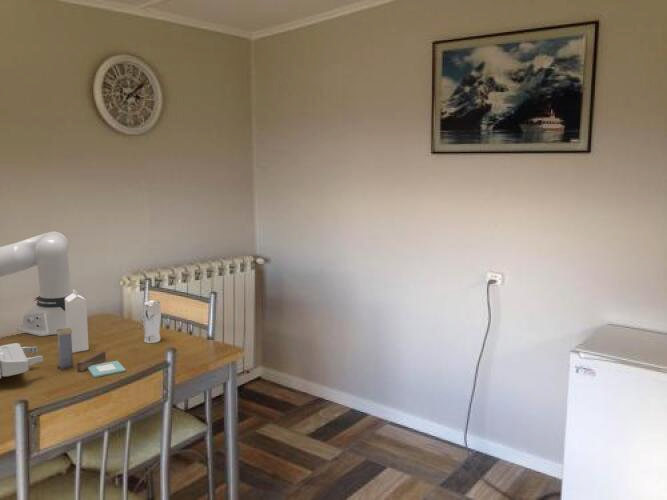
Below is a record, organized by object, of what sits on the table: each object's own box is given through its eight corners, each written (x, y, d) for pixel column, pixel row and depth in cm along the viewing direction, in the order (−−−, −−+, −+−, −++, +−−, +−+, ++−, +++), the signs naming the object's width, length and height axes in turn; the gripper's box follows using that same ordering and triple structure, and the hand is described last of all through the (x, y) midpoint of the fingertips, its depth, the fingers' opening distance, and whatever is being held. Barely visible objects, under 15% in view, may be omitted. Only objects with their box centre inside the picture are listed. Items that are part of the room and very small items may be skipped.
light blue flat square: (94, 377, 186) (94, 375, 186) (86, 367, 194) (86, 365, 194) (125, 371, 192) (125, 369, 191) (117, 362, 200) (117, 360, 199)
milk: (71, 353, 207) (67, 293, 204) (67, 348, 212) (63, 289, 208) (89, 350, 211) (85, 291, 207) (84, 345, 216) (81, 287, 212)
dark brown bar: (77, 371, 191) (77, 362, 190) (100, 358, 202) (100, 350, 202) (82, 371, 190) (82, 363, 190) (105, 359, 202) (105, 351, 201)
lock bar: (60, 370, 191) (58, 332, 189) (58, 366, 195) (56, 329, 193) (73, 367, 194) (71, 330, 192) (71, 364, 197) (69, 327, 195)
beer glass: (158, 343, 219) (157, 305, 217) (140, 343, 219) (139, 304, 217) (164, 338, 226) (163, 300, 224) (146, 337, 226) (145, 300, 224)
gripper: (-12, 361, 189) (35, 353, 197) (-5, 381, 173) (46, 372, 181) (-14, 342, 188) (34, 335, 196) (-7, 361, 172) (45, 353, 180)
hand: (40, 353), depth 188 cm, fingers open, 8 cm apart
